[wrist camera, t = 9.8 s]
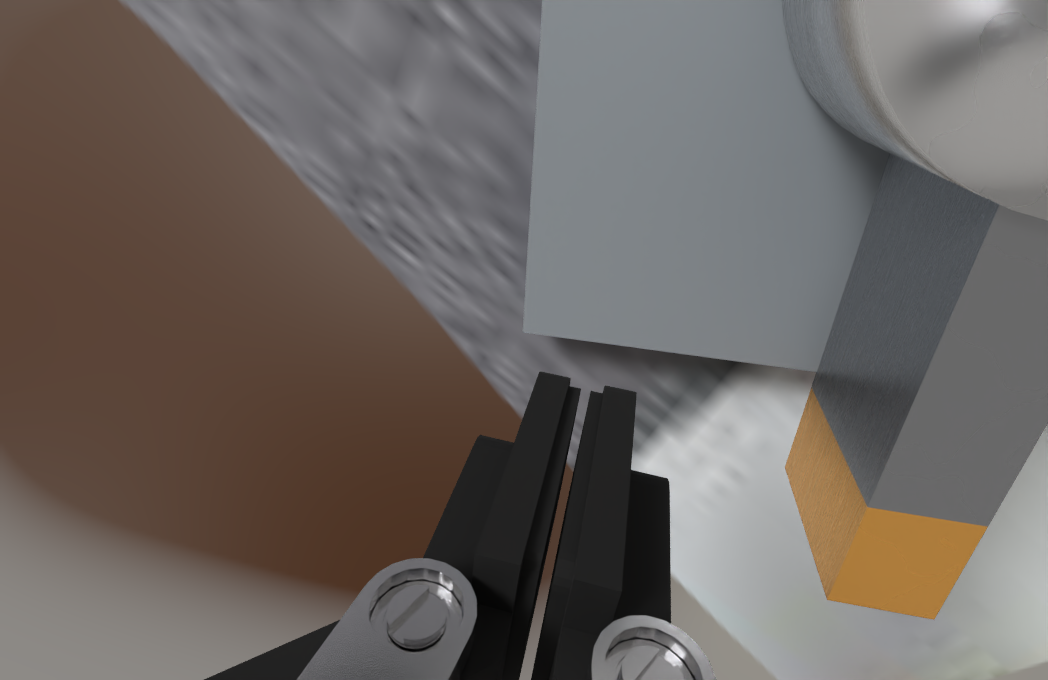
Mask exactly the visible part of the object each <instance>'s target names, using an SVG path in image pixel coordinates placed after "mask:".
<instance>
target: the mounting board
mask: <svg viewBox="0 0 1048 680" xmlns="http://www.w3.org/2000/svg"><path fill="white" fill-rule="evenodd" d="M889 154H890V153H889V152H887V151H884V150H882V149H880V148H878V147H876V146H874V145H872V144H870V143H867V142H865V141H863V140H861V139H859V138H858V137H856V136H855V135H853V134H852V133H850V132H849V131H847V130H846V129H844V128H843V127H841V126H840V125H839V124H838V123H837V122H836V121H834V120H833V119H832V118H831V117H830V116H829V115H828V114H827V113H826V112H825V111H824V110H823V109H822V108H821V107H820V105H819V104H818V103H817V102H816V100H815V99H814V98H813V96H812V95H811V94H810V93H809V91H808V89H807V87H806V86H805V84H804V82H803V80H802V78H801V77H800V75H799V73H798V71H797V68H796V66H795V63H794V60H793V58H792V55H791V52H790V50H789V46H788V42H787V37H786V32H785V28H784V23H783V12H782V0H542V16H541V33H540V50H539V67H538V84H537V100H536V117H535V134H534V151H533V168H532V184H531V201H530V218H529V235H528V252H527V268H526V285H525V302H524V319H523V333H531V334H538V335H546V336H553V337H560V338H568V339H575V340H583V341H590V342H597V343H605V344H612V345H620V346H627V347H634V348H642V349H649V350H656V351H664V352H671V353H679V354H686V355H693V356H701V357H708V358H716V359H723V360H730V361H738V362H745V363H753V364H760V365H767V366H775V367H782V368H789V369H797V370H804V371H812V372H817V370H818V367H819V364H820V361H821V358H822V355H823V352H824V349H825V346H826V343H827V340H828V337H829V334H830V331H831V328H832V325H833V322H834V319H835V316H836V313H837V310H838V307H839V304H840V301H841V298H842V295H843V292H844V289H845V286H846V283H847V280H848V277H849V274H850V271H851V268H852V265H853V262H854V259H855V256H856V253H857V250H858V247H859V244H860V241H861V238H862V235H863V232H864V229H865V226H866V223H867V220H868V217H869V214H870V211H871V208H872V205H873V202H874V199H875V196H876V193H877V190H878V187H879V184H880V181H881V178H882V175H883V172H884V169H885V166H886V163H887V160H888V157H889Z"/></svg>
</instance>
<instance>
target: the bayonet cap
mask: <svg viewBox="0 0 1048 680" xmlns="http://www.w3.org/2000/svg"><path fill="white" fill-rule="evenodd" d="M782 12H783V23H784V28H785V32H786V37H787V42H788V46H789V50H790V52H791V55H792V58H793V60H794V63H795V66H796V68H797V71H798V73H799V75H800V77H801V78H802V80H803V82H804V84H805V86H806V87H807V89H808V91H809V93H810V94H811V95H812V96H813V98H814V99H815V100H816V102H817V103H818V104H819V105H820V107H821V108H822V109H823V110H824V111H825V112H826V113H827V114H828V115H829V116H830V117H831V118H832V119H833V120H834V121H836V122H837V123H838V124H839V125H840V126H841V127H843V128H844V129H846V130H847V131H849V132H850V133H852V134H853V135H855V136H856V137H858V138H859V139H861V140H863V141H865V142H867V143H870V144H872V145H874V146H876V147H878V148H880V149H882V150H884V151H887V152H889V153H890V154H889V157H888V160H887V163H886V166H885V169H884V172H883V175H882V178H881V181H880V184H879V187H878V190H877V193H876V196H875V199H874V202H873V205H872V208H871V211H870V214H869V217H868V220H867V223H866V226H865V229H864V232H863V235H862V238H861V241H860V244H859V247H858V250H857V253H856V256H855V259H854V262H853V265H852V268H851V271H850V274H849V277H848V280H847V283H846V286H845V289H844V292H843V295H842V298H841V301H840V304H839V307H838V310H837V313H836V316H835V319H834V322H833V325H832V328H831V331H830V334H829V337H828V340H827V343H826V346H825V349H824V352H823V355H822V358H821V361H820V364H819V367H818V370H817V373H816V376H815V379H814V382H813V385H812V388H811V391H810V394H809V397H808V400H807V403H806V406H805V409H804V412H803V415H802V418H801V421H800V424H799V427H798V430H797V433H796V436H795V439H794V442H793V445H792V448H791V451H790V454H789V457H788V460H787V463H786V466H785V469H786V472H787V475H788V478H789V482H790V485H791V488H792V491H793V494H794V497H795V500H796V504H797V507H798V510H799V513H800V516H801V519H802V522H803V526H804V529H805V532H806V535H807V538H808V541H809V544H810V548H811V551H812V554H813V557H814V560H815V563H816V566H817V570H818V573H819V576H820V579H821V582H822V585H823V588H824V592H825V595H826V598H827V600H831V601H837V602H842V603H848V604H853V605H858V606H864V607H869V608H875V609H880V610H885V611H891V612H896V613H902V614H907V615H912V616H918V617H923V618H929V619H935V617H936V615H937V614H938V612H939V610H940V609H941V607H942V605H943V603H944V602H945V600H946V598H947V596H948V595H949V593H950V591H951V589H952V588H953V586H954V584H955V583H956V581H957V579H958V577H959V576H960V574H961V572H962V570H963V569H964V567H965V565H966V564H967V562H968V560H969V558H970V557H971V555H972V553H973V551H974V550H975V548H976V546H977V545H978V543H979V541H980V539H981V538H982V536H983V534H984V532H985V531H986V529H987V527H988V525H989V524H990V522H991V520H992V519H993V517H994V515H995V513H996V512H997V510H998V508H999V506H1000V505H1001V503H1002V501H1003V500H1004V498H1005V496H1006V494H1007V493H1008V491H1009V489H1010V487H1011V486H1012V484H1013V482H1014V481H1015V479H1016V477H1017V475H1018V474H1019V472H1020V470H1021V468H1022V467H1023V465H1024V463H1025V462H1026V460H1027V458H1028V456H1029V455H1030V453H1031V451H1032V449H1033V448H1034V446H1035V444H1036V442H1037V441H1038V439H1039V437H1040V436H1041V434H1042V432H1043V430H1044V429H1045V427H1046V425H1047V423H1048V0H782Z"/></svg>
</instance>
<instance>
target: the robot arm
mask: <svg viewBox="0 0 1048 680" xmlns="http://www.w3.org/2000/svg"><path fill="white" fill-rule="evenodd" d="M569 385H570V378H568V377H564V376H559V375H554V374H550V373H545V372H539V375H538V377H537V380H536V383H535V386H534V389H533V391H532V394H531V397H530V400H529V403H528V405H527V408H526V411H525V414H524V417H523V419H522V422H521V425H520V428H519V431H518V434H517V436H516V439H515V442H514V443H512V442H508V441H504V440H499V439H495V438H491V437H486V436H482V435H480V436H479V437H478V438H477V440H476V441H475V444H474V446H473V448H472V450H471V453H470V455H469V457H468V459H467V461H466V464H465V466H464V468H463V470H462V472H461V475H460V477H459V479H458V481H457V483H456V486H455V488H454V490H453V493H452V494H451V497H450V499H449V501H448V503H447V506H446V508H445V510H444V512H443V515H442V517H441V519H440V521H439V524H438V526H437V528H436V530H435V533H434V535H433V537H432V539H431V541H430V544H429V546H428V548H427V550H426V552H425V555H424V557H423V558H420V559H408V560H404V561H401V562H397V563H394V564H392V565H390V566H388V567H387V568H385V569H383V570H382V571H380V572H378V573H377V574H376V575H375V576H374V577H373V578H372V579H371V580H370V581H369V582H368V583H367V584H366V586H365V587H364V588H363V590H362V591H361V592H360V594H359V595H358V597H357V598H356V599H355V601H354V602H353V603H352V605H351V606H350V607H349V609H348V610H347V612H346V613H345V614H344V616H343V617H342V618H341V620H338V621H336V622H334V623H332V624H329V625H328V626H325V627H323V628H320V629H318V630H316V631H314V632H311V633H309V634H307V635H304V636H302V637H300V638H298V639H295V640H293V641H291V642H289V643H286V644H284V645H282V646H279V647H277V648H275V649H273V650H270V651H268V652H266V653H264V654H262V655H259V656H257V657H254V658H252V659H250V660H248V661H245V662H243V663H241V664H239V665H236V666H234V667H232V668H230V669H227V670H225V671H223V672H220V673H218V674H216V675H214V676H211V677H209V678H207V679H205V680H519V677H520V673H521V668H522V664H523V659H524V654H525V650H526V645H527V641H528V636H529V632H530V627H531V623H532V618H533V614H534V609H535V605H536V600H537V596H538V591H539V587H540V582H541V578H542V573H543V569H544V564H545V559H546V555H547V551H548V546H549V542H550V537H551V532H552V528H553V523H554V518H555V514H556V509H557V504H558V500H559V495H560V490H561V485H562V480H563V475H564V470H565V465H566V460H567V455H568V451H569V446H570V441H571V436H572V431H573V426H574V421H575V416H576V411H577V406H578V401H579V396H580V391H581V389H580V388H575V387H570V386H569ZM635 407H636V392H633V391H628V390H624V389H619V388H615V387H610V386H605V387H604V390H603V393H598V392H593V391H591V393H590V397H589V402H588V407H587V412H586V416H585V421H584V426H583V430H582V435H581V440H580V444H579V449H578V454H577V458H576V463H575V468H574V472H573V477H572V482H571V486H570V491H569V496H568V501H567V505H566V510H565V515H564V520H563V524H562V530H561V534H560V539H559V544H558V549H557V554H556V559H555V564H554V569H553V574H552V579H551V584H550V589H549V594H548V599H547V603H546V608H545V614H544V619H543V623H542V628H541V633H540V638H539V643H538V648H537V653H536V658H535V663H534V668H533V673H532V678H531V680H716V677H715V675H714V672H713V669H712V667H711V664H710V661H709V660H708V659H707V657H706V656H705V654H704V653H703V651H702V650H701V648H700V647H699V646H698V644H697V643H696V642H695V641H694V640H692V639H691V638H690V637H689V636H688V635H687V634H686V633H685V632H684V631H682V630H681V629H679V628H678V627H676V626H674V625H672V624H671V590H670V589H671V588H670V490H669V481H668V479H667V478H663V477H659V476H654V475H650V474H646V473H642V472H637V471H633V470H631V460H632V447H633V434H634V421H635Z"/></svg>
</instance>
